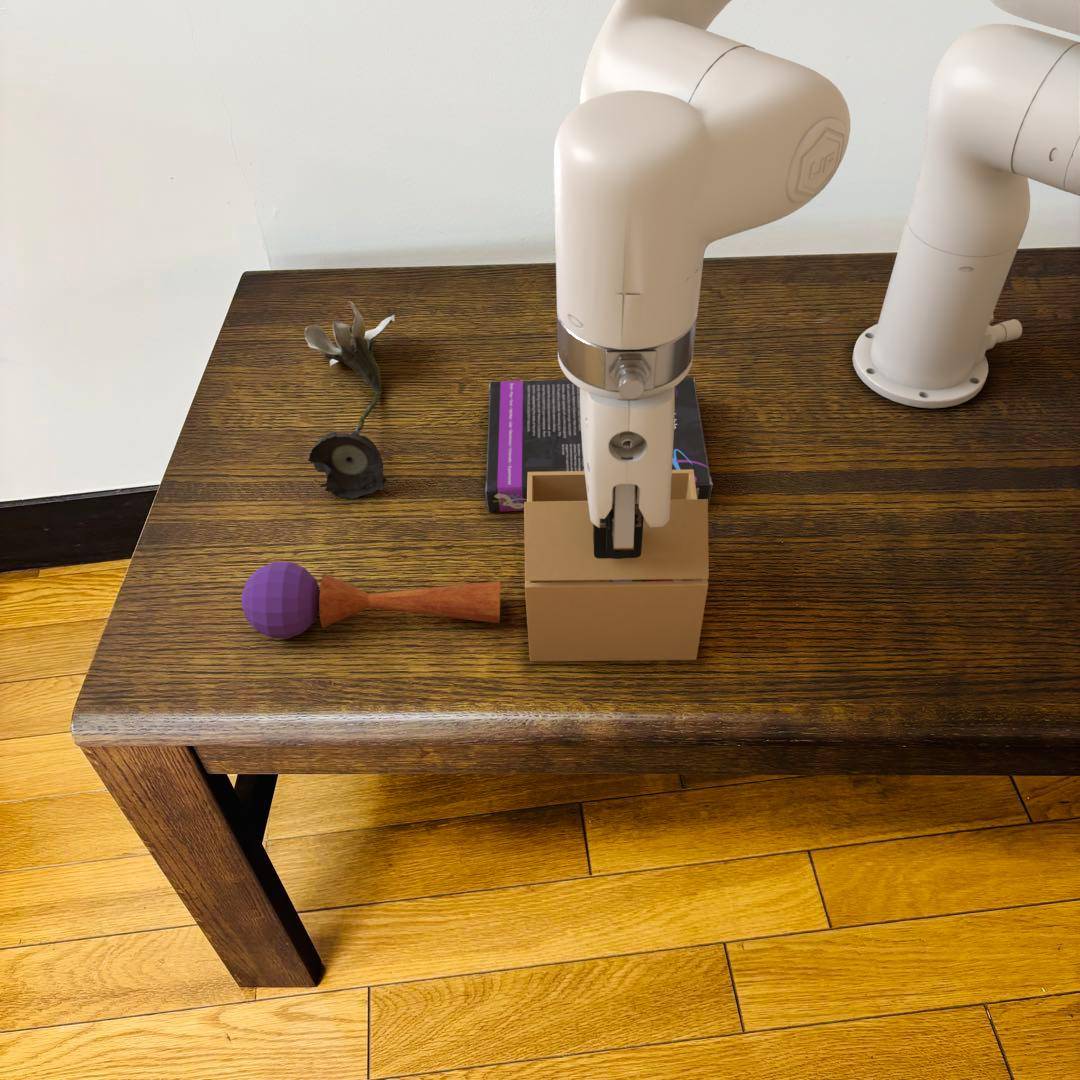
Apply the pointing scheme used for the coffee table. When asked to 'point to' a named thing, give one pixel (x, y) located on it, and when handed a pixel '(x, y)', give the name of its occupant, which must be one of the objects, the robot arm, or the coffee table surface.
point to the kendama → (350, 600)
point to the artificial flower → (353, 455)
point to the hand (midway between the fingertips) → (616, 549)
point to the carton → (611, 599)
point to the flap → (568, 554)
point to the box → (567, 437)
